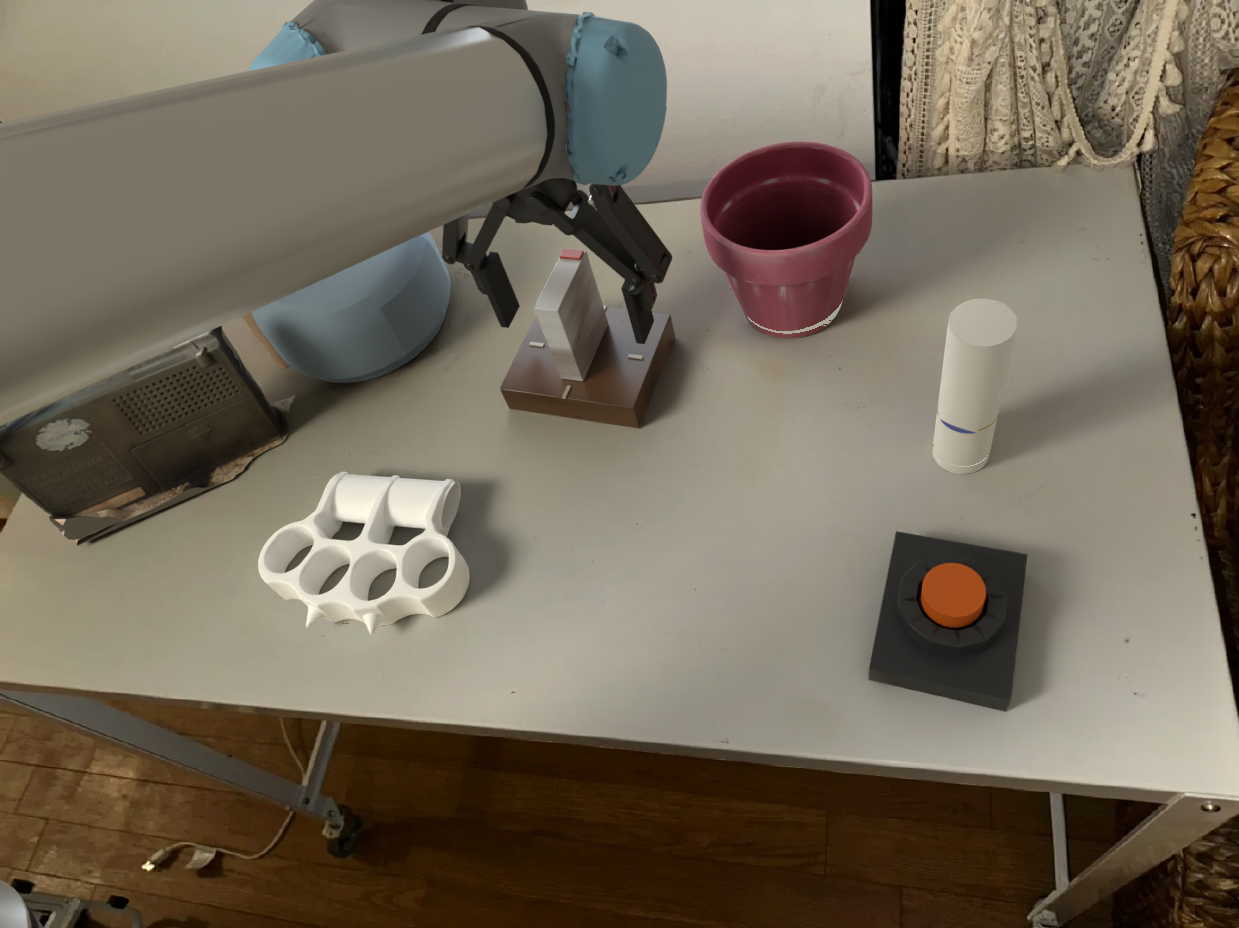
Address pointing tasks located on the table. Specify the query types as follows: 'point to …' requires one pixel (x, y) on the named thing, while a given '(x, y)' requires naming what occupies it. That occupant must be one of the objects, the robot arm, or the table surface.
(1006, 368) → the tube
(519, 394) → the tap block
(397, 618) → the white brass knuckles
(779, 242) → the flower pot
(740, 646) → the table surface
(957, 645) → the button box
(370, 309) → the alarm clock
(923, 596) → the button
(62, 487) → the radio
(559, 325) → the red-tipped white block
